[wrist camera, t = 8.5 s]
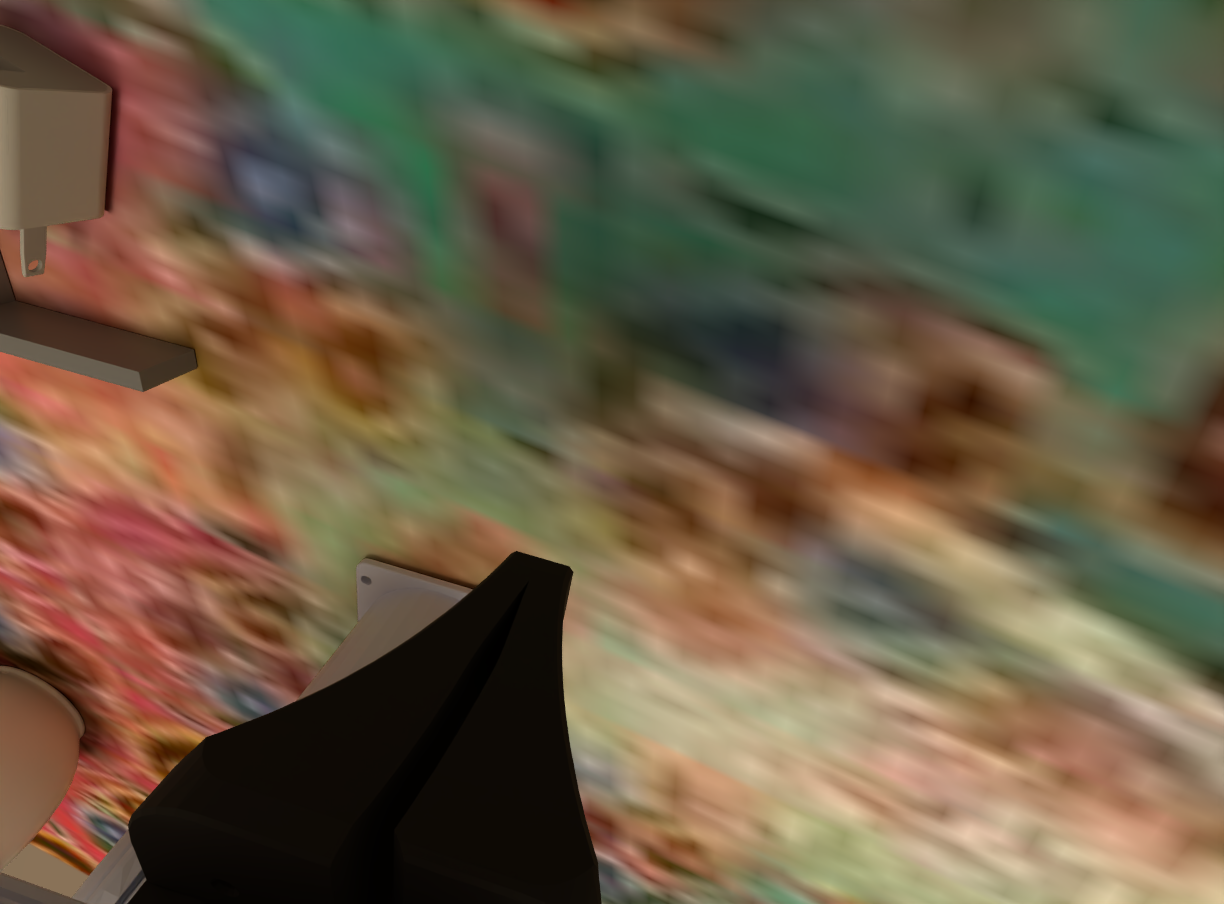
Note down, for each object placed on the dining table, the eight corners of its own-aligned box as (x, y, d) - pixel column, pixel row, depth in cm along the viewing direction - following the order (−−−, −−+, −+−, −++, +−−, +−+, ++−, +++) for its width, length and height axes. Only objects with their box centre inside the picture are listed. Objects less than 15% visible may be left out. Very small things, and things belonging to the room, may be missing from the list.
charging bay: (197, 368, 24) (143, 391, 22) (4, 314, 25) (-67, 332, 23) (122, -63, 17) (34, -89, 15) (-141, -119, 18) (-260, -152, 16)
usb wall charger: (124, 94, 20) (-9, 88, 16) (110, 277, 23) (-2, 304, 20) (9, 24, 19) (-152, 2, 16) (13, 220, 23) (-118, 237, 19)
